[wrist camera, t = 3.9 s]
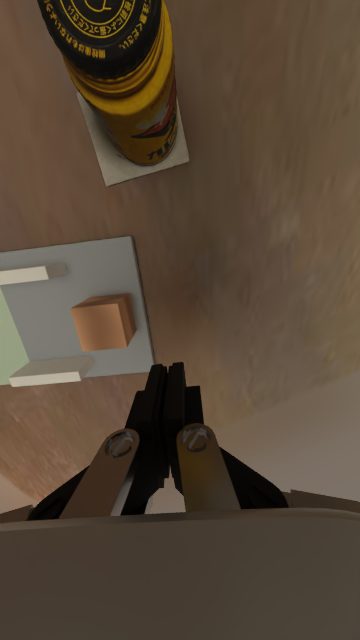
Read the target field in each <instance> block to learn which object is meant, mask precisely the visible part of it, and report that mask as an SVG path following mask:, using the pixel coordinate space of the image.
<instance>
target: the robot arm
mask: <svg viewBox="0 0 360 640" xmlns="http://www.w3.org/2000/svg"><path fill="white" fill-rule="evenodd" d="M170 467H171V473H172V477H173V478H174V483H175V488H176V489H177V490H178V491H179V492H180V493H181V494H182V495H183V496H184V502H185V509H186V512H180V513H162V514H161V513H160V514H150V510H151V507H152V501H153V497H152V495H153V494H154V493H155V492H156V491H157V490H158V489H159V488H164V479H165V478H169V470H170ZM0 640H360V502H357V501H353V500H347V499H342V498H336V497H331V496H325V495H319V494H314V493H308V492H303V491H297V490H291V492H290V493H288V492H282V491H280V490H279V489H278V488H277V487H276V486H275V485H274V484H273V483H271V482H270V481H268V480H267V479H265V478H264V477H262V476H261V475H260V474H258V473H257V472H255V471H254V470H253V469H251V468H250V467H248V466H247V465H245V464H244V463H242V462H241V461H239V460H238V459H237V458H235V457H234V456H232V455H231V454H230V453H228V452H227V451H225V450H224V449H222V448H221V447H219V445H218V442H217V439H216V436H215V434H214V432H213V430H212V429H211V428H209V427H208V426H206V425H204V420H203V411H202V402H201V393H200V386H190V387H186V379H185V371H184V364H183V362H177V363H173V366H169V371H168V372H167V367H166V366H164V367H163V365H162V364H156V365H152V366H151V369H150V373H149V376H148V380H147V383H146V387H145V390H143V391H137V393H136V395H135V398H134V401H133V404H132V407H131V410H130V413H129V416H128V419H127V422H126V425H125V428H124V429H121V430H118V431H116V432H114V433H112V434H111V435H109V436H108V437H107V438H106V439H105V441H104V442H103V443H102V445H101V447H100V449H99V450H98V452H97V454H96V455H95V457H94V459H93V461H92V462H91V464H90V465H89V466H88V467H86V468H85V469H84V470H82V471H81V472H79V473H78V474H77V475H75V476H74V477H73V478H71V479H70V480H69V481H67V482H66V483H65V484H63V485H62V486H60V487H59V488H58V489H56V490H55V491H54V492H52V493H51V494H50V495H48V496H47V497H46V498H44V499H43V500H42V501H41V502H40V503H39V504H38V505H37V506H36V507H35V508H34V507H33V505H28V506H25V507H22V508H18V509H15V510H12V511H9V512H5V513H2V514H0Z"/></svg>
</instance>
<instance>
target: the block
mask: <svg viewBox="0 0 360 640" xmlns="http://www.w3.org/2000/svg"><path fill="white" fill-rule="evenodd" d="M70 310H71V314H72V317H73V320H74V324H75V327H76V331H77V334H78V337H79V341H80V344H81V347H82V351H83V352H86V351H96V350H107V349H117V348H127V347H128V345H129V343H130V342H131V340H132V338H133V336H134V334H135V333H136V331H137V328H136V323H135V318H134V313H133V308H132V303H131V298H130V293H123V294H114V295H105V296H96V297H90V298H88V299H86V300H84V301H82V302H81V303H79V304H77V305H75V306H74V307H72V308H70Z"/></svg>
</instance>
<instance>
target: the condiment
mask: <svg viewBox="0 0 360 640" xmlns="http://www.w3.org/2000/svg"><path fill="white" fill-rule="evenodd" d="M37 1H38V4H39V8H40V10H41V13H42V17H43V19H44V21H45V24H46V26H47V29H48V31H49V34H50V35H51V37H52V38H53V40H54V42H55V44H56V45H57V47H58V48H59V49H60V51H61V53H62V55H63V59H64V62H65V65H66V67H67V70H68V73H69V75H70V77H71V79H72V81H73V83H74V84H75V86H76V88H77V89H78V91H79V92H78V93H76V94H77V97H78V100H79V103H80V106H81V108H82V112H83V115H84V118H85V121H86V124H87V127H88V130H89V133H90V136H91V139H92V142H93V146H94V149H95V150H96V155H97V158H98V162H99V165H100V168H101V171H102V174H103V178H104V181H105V184H106V186H109V185H112V184H116V183H119V182H122V181H125V180H129V179H132V178H135V177H139V176H142V175H146V174H150V173H153V172H156V171H159V170H163V169H166V168H170V167H173V166H176V165H179V164H182V163H186V162H188V161H190V160H189V155H188V150H187V145H186V140H185V136H184V131H183V125H182V120H181V115H180V110H179V105H178V100H177V95H176V80H175V65H174V58H175V55H174V49H173V38H172V28H171V22H170V18H169V14H168V11H167V9H166V6H165V3H164V1H163V0H37ZM116 154H119V155H120V157H118V156H117V155H116ZM121 156H123V157H124V159H122V158H121Z"/></svg>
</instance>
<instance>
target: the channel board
mask: <svg viewBox="0 0 360 640" xmlns="http://www.w3.org/2000/svg"><path fill="white" fill-rule="evenodd" d="M123 293H130V298H131V303H132V308H133V313H134V318H135V323H136V328H137V331H136V333H135V334H134V336H133V338H132V340H131V342H130V343H129V345H128V347H127V348H117V349H107V350H96V351H86V352H83V351H82V347H81V344H80V341H79V337H78V334H77V331H76V327H75V324H74V320H73V317H72V314H71V310H70V308H72V307H74V306H75V305H77V304H79V303H81V302H82V301H84V300H86V299H88V298H90V297H96V296H105V295H114V294H123ZM152 365H155V359H154V354H153V348H152V342H151V337H150V331H149V325H148V320H147V314H146V308H145V303H144V297H143V291H142V286H141V280H140V274H139V269H138V263H137V257H136V252H135V246H134V240H133V236H128V237H120V238H112V239H104V240H96V241H89V242H81V243H73V244H65V245H57V246H49V247H42V248H34V249H26V250H18V251H10V252H2V253H0V385H6V384H11V385H12V387H17V386H29V385H40V384H51V383H62V382H74V381H81V380H82V379H83V378H84V377H95V376H106V375H117V374H128V373H140V372H150V369H151V366H152Z"/></svg>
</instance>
